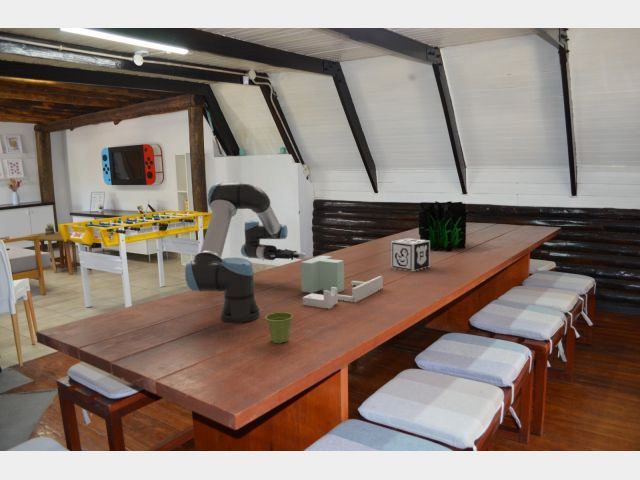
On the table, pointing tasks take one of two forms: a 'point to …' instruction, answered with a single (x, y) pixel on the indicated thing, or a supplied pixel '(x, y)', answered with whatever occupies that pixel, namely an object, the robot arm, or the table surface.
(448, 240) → the decorative plant
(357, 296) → the white u channel
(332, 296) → the bracket
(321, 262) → the t block
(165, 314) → the table surface
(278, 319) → the plant pot
